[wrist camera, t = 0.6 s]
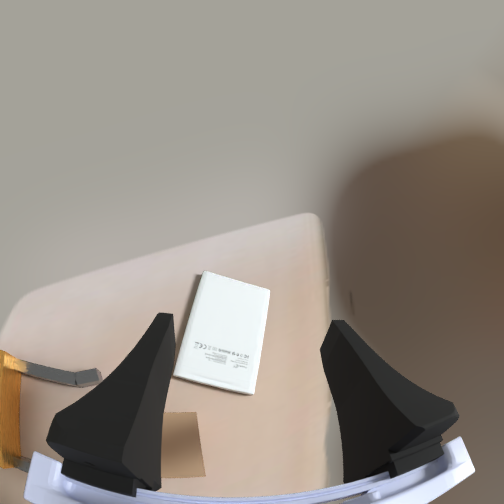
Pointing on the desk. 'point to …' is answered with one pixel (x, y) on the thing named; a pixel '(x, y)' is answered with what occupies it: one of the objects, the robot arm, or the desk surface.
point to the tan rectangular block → (181, 446)
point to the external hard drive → (224, 334)
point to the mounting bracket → (8, 398)
